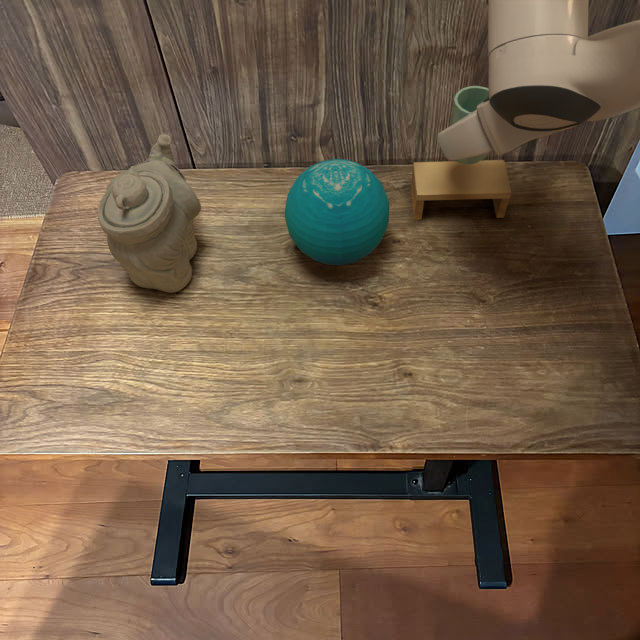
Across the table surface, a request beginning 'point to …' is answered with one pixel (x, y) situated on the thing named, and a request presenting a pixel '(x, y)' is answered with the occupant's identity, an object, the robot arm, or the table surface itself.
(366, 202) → the decorative orb
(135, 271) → the teapot
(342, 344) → the table surface
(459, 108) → the sage green tumbler
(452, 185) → the shelf
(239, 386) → the table surface
